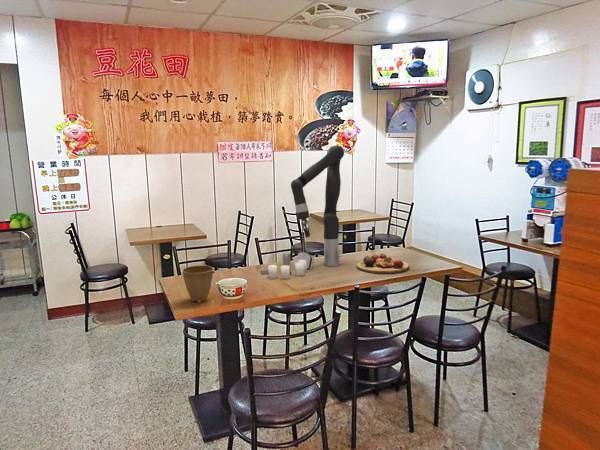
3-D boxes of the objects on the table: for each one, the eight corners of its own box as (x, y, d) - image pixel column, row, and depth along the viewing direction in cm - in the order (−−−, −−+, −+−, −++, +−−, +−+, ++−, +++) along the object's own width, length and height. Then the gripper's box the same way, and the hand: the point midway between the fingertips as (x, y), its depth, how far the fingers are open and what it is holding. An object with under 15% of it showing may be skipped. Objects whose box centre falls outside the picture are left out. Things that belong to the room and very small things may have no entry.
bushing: (290, 272, 263) (290, 253, 261) (291, 275, 258) (291, 255, 256) (282, 273, 262) (281, 253, 260) (283, 275, 257) (282, 255, 255)
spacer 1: (276, 276, 257) (276, 264, 255) (277, 278, 252) (277, 266, 251) (268, 276, 256) (267, 265, 255) (269, 279, 251) (268, 267, 250)
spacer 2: (289, 276, 255) (288, 264, 254) (290, 278, 250) (290, 267, 249) (280, 277, 254) (280, 265, 253) (281, 279, 249) (281, 267, 248)
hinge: (292, 264, 282) (296, 249, 282) (298, 266, 285) (303, 251, 285) (304, 270, 268) (309, 254, 268) (311, 271, 270) (315, 256, 270)
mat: (273, 270, 270) (273, 269, 270) (274, 273, 262) (274, 273, 262) (260, 271, 268) (260, 270, 268) (261, 274, 261) (261, 274, 260)
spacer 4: (305, 270, 267) (305, 259, 266) (307, 272, 263) (307, 261, 261) (297, 270, 267) (297, 259, 266) (299, 273, 262) (298, 261, 261)
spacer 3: (303, 273, 260) (302, 262, 259) (304, 275, 255) (304, 264, 254) (294, 274, 259) (294, 262, 258) (296, 276, 254) (295, 264, 253)
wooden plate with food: (419, 270, 261) (420, 257, 260) (373, 276, 249) (373, 262, 248) (390, 260, 290) (390, 248, 289) (347, 265, 279) (347, 252, 278)
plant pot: (183, 306, 208) (181, 274, 206) (185, 296, 223) (183, 266, 220) (214, 303, 211) (213, 271, 209) (215, 294, 226) (213, 264, 223)
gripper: (307, 210, 263) (313, 236, 263) (309, 209, 277) (314, 234, 277) (295, 212, 263) (301, 239, 264) (297, 212, 278) (303, 237, 278)
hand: (308, 236), depth 271 cm, fingers open, 8 cm apart
